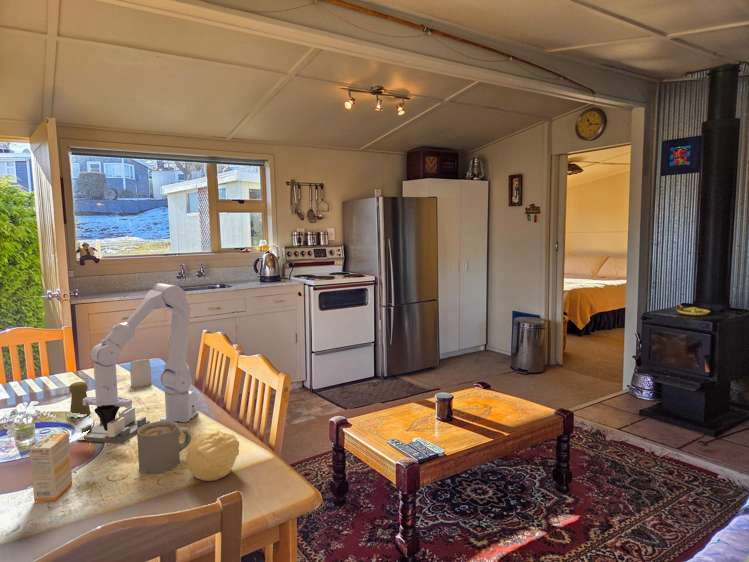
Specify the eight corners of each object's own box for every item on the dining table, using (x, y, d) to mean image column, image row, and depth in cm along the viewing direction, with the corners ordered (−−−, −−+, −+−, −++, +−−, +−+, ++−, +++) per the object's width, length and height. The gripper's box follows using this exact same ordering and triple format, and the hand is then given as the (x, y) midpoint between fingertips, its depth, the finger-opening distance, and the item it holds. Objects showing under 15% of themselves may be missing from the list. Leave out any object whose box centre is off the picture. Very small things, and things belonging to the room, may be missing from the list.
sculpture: (210, 491, 120) (209, 447, 119) (178, 477, 126) (176, 436, 125) (246, 471, 129) (245, 431, 128) (214, 459, 136) (213, 421, 135)
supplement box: (52, 484, 123) (48, 432, 121) (73, 483, 123) (69, 432, 122) (32, 503, 115) (28, 447, 113) (54, 502, 115) (50, 447, 114)
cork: (81, 418, 164) (79, 386, 163) (65, 417, 165) (63, 384, 164) (95, 412, 170) (93, 380, 168) (79, 410, 171) (77, 379, 170)
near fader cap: (125, 430, 151) (124, 416, 151) (114, 437, 146) (113, 422, 146) (119, 429, 152) (118, 415, 151) (107, 436, 147) (107, 422, 146)
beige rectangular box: (151, 384, 199) (150, 359, 198) (133, 387, 195) (131, 362, 194) (149, 382, 202) (147, 357, 201) (130, 385, 198) (129, 360, 197)
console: (149, 424, 159) (149, 415, 159) (121, 443, 146) (120, 433, 145) (109, 421, 161) (108, 412, 161) (77, 440, 148) (77, 430, 147)
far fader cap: (135, 419, 159) (134, 406, 159) (125, 425, 154) (124, 412, 154) (129, 419, 160) (128, 405, 159) (119, 425, 155) (118, 411, 154)
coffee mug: (142, 477, 126) (140, 439, 125) (136, 461, 135) (134, 425, 133) (197, 463, 133) (195, 427, 132) (188, 449, 142) (187, 415, 141)
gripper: (73, 387, 145) (76, 433, 146) (119, 390, 143) (122, 436, 144) (91, 380, 152) (93, 423, 153) (135, 382, 150) (137, 426, 151)
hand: (108, 429), depth 149 cm, fingers closed
